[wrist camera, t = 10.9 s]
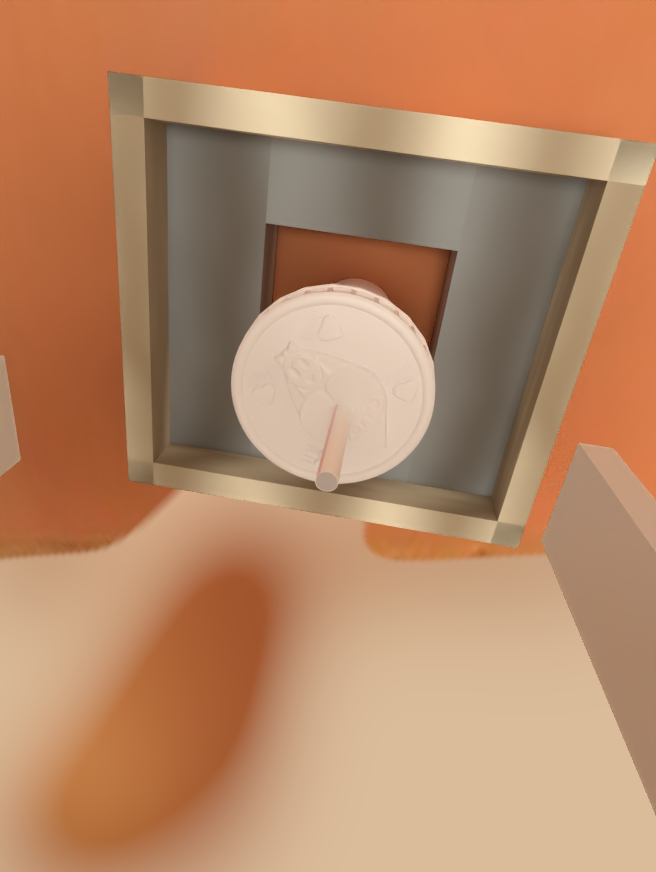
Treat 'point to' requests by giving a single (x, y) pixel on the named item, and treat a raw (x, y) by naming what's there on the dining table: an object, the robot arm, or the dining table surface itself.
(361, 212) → the socket box
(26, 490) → the dining table surface
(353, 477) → the smoothie
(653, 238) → the dining table surface
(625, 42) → the dining table surface
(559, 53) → the dining table surface
